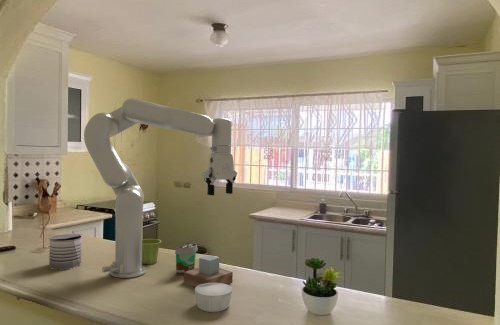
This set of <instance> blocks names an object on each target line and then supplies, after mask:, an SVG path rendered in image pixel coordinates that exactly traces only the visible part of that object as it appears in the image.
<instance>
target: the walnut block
mask: <svg viewBox="0 0 500 325" xmlns="http://www.w3.org/2000/svg"><path fill="white" fill-rule="evenodd" d="M233 274H234V273H233V271H230V270H227V269H224V268H221V267H219V272H217V273H214V274H212V275H207V274H203V273H200V272H199V267H196V268H194V269H193V270H189V271H186V272H184V274H183V283H186V284H187V285H191V286H194V287H195V288H196V287H197V286H198V285H201V284H205V283H223V284H227V285H229V284H230V283H233Z"/></svg>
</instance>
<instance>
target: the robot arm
mask: <svg viewBox="0 0 500 325" xmlns="http://www.w3.org/2000/svg"><path fill="white" fill-rule="evenodd" d="M137 124H142V125H146V126H151V127H155V128H159V129H162V130H163V129H164V130H175V131H176V130H177V131H180V132H181V131H182V132H187V133H191V134H194V135H195V136H196V137H199V138H201V137H203V138H205V137H211V147H210V148H209V150H210V151H211V153H210V154H209V159H208V166H207V170H206V171H204V172H203V173H202V176H203V180H204V181H205V184H206V185H207V196H215V182H216V180H218V181H222V180H223V181H224V180H225V181H226V183H225V194H228V195H229V194H230V195H233V193H234V192H233V188H234V187H233V184H235V182H236V179H237V176H238V172H237V171H235V164H234V157H233V156H234V155H233V154H232V120H231V119H229V118H226V117H217V118H211V117H209V116H208V115H205V114H201V113H197V112H193V111H190V110H184V109H179V108H176V107H171V106H167V105H162V104H159V103H155V102H152V101H151V102H150V101H149V100H148V101H147V100H143V99H139V98H135V97H134V98H133V97H131V98H127V99H126V100H124V101H123V103H122V104H121V106H120V107H119V108H117V109H115V110H113V111H111V112H109V113H108V112H98V113H96V114H95V115H93V116H91V117H90V119H88V122H87V123H86V125H85V128H84V132H83V140H84V144H85V147H86V149H87V152H88V153H89V155H90V158H91V159H92V161H93V163H94V165H95V167H96V168H97V170H98V172H99V174H100V176H101V178H102V180H103V182H104V183H105V185H107V186H108V187H110V188H111V189H112V191H113V193H114V195H115V196H116V198H115V204H114V209H115V211H114V213H115V248H114V249H115V251H114V253H115V254H114V257H115V258H114V261H112V262H111V264H110V265H106V266H102V268H101V270H102V273H107V272H109V273H110V274H109V275H110V276H112V277H114V278H117V279H118V278H119V279H127V278H129V279H130V278H137V277H139V276H143V275H145V274H146V272H147V267H145V266H143V264H142V240H143V234H144V232H143V230H144V229H143V227H144V226H143V224H144V223H143V222H144V220H143V219H144V217H143V216H144V213H143V212H144V201H145V194H144V191H143V190H142V188H141V186H140V184H139V182H138V180H137V179H136V177H135V176H134V173H133V172H132V169H131V168H130V167H129V165H128V164H126V163H125V162H123V160H122V159H121V157H120V156H119V154H118V152H117V150H116V148H115V147H114V145H113V143H112V141H111V138H112V137H114V136H116V135H118V134H120V133H123V132H124V131H125V130H127V129H131V127H134V126H135V125H137Z"/></svg>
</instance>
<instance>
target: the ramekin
mask: <svg viewBox="0 0 500 325" xmlns="http://www.w3.org/2000/svg"><path fill="white" fill-rule="evenodd" d="M232 294H233V287H232V286H230V285H229V284H223V283H205V284H201V285H198V286H197V287H195V288H194V295H195V301H196V306H197V308H199V310H201V311H203V312H207V313H216V312H217V313H218V312H222V311H224V310H226V309H228V307H229V306H230V303H231V298H232Z"/></svg>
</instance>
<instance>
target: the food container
mask: <svg viewBox="0 0 500 325" xmlns="http://www.w3.org/2000/svg"><path fill="white" fill-rule="evenodd" d="M198 250H199V248H198V245H197V243H195V242H194V241H186V243H185V244H183V245H182V246H181V247H175V251H174V252H175V253H174V254H175V270H176V271H175V272H176V275H184V272H186V271H189V270H193V269H195V266H196V254H197V252H198Z"/></svg>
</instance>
